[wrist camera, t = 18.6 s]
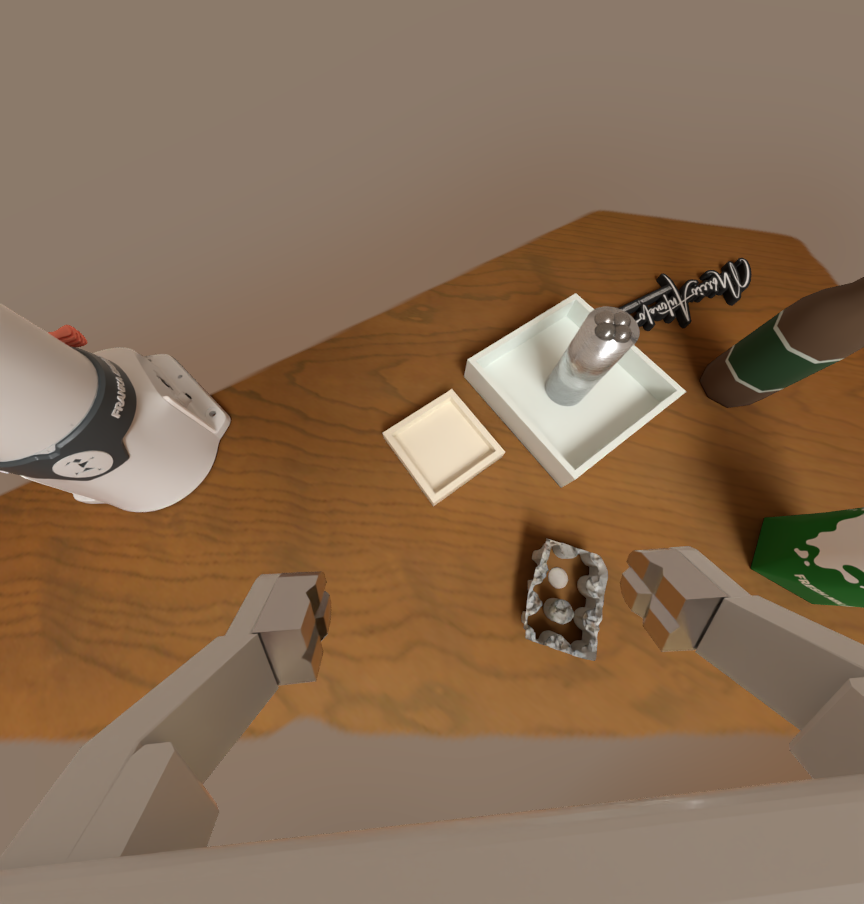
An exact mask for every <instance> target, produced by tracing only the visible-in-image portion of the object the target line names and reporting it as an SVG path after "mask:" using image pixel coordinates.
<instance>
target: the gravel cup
mask: <svg viewBox="0 0 864 904" xmlns="http://www.w3.org/2000/svg"><path fill="white" fill-rule="evenodd" d="M638 337H639V327H638V324H637V322H636V321H635V320H634V318H633V317H632V316H631V315H629V314H628V313H627V312H625V311H623V310H621V309H618V308H615V307H600V308H597V309H594V310H593V311H591V312H590V313H589V315H588V316H587V318H586V319H585V321H584V322H583V324H582V325H581V327H580V329H579V330H578V332H577V333H576V335H575V336H574V338H573V339H572V341H571V343H570V344H569V346H568V347H567V349H566V350H565V352H564V353H563V355H562V356H561V358H560V360H559V361H558V363H557V364H556V366H555V367H554V369H553V370H552V372H551V374H550V375H549V377H548V378H547V380H546V382H545V391H546V394H547V395H548V397H549V398H550V399H551V400H552V401H553V402H555V403H556V404H559V405H562V406H573V405H576V404H578V403H579V402H580V401H581V400H582V399H583V398H584V397H585V396H586V395H587V394H588V393H589V392H590V391H591V390H592V389H593V388H594V386H595V385H596V384H597V383H598V382H599V381H600V380H601V379H602V378H603V377H604V376H605V375H606V374H607V373H608V372H609V370H610V369H611V368H612V367H613V366H614V365H615V364H616V363H617V362H618V361H619V360H620V359H621V358H622V357H623V355H624V354H625V353H626V352H627V351H628V350H629V349H630V348H631V347H632V346H633V345H634V344H635V343H636V341H637V340H638Z"/></svg>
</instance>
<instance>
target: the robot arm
mask: <svg viewBox="0 0 864 904" xmlns="http://www.w3.org/2000/svg"><path fill="white" fill-rule="evenodd" d="M86 344H87V340H86V339H85V337H84V336H83V335H82V334H81V333H80V332H79V331H77V330H76V329H75V328H74V327H72V326H70V325H64V326H62V327H61V328H59V329H58V330H56V331H54V332H48V333H47V332H46V331H44V330H43V329H41V328H39V327H38V326H36V325H35V324H33V323H31V322H30V321H28V320H27V319H25V318H23V317H22V316H20V315H19V314H17V313H15V312H14V311H12V310H10V309H9V308H7V307H6V306H4V305H2V304H1V303H0V472H4V473H7V474H8V473H13V474H17V475H20V476H22V477H24V478H26V479H29V480H32V481H35V482H38V483H41V484H45V485H48V486H51V487H54V488H57V489H60V490H64V491H67V492H70V493H73V496H74V498H75V499H76V500H78V501H81V502H84V503H90V504H97V503H108V504H111V505H113V506H116V507H118V508H120V509H123V510H127V511H132V512H149V511H154V510H159V509H162V508H165V507H168V506H170V505H172V504H174V503H176V502H178V501H180V500H181V499H183V498H184V497H186V496H187V495H188V494H190V493H191V492H192V491H193V490H194V489H195V488H196V487H197V486H198V485H199V484H200V483H201V482H202V481H203V480H204V478H205V477H206V476H207V474H208V473H209V471H210V469H211V467H212V465H213V463H214V460H215V457H216V453H217V449H218V444H219V441H220V439H221V437H222V436H223V434H224V433H225V431H226V430H227V428H228V426H229V424H230V421H231V419H230V416H229V415H228V414H227V413H226V412H225V411H224V410H223V409H222V408H221V407H220V405H219V404H218V403H217V402H216V401H215V400H214V399H213V398H212V397H211V396H210V395H209V394H208V393H207V392H206V391H205V390H204V389H203V388H202V387H201V385H200V384H199V383H198V382H197V381H196V380H195V379H194V378H193V377H192V376H191V375H190V374H189V373H188V372H187V371H186V370H185V369H184V368H183V366H181V364H180V363H179V362H178V361H177V360H176V359H174V358H173V357H172V356H170V355H168V354H156V355H149V356H145V357H143V356H142V355H140V354H139V353H138V352H136V351H134V350H132V349H129V348H111V349H106V350H102V351H98V352H95V353H89V352H87V351H84V350H82V349H79V348H76V347H81V346H84V345H86ZM215 413H216V414H215ZM214 414H215V416H213V415H214ZM212 416H213V417H212ZM626 562H627V563H628V565H629V567H630V568H628V569H627V570H626V571H625V572H624V573H623V574H622V577H621V581H620V587H621V593H622V596H623V598H624V600H625V602H626V604H627V605H628V606H629V608H630V609H631V611H633V612H634V613H636V614H638V615H639V616H641V617H642V618H643V627H644V629H645V630H646V631H647V633H648V634H649V635H650V637H651V638H652V639H653V641H654V642H655V643H656V645H657V646H658V648H659V649H660V650H661V652H665V651H684V650H696V651H695V652H696V653H698V654H699V655H700V656H702V657H703V658H704V659H706V660H707V661H708V662H710V663H711V664H712V665H714V666H715V667H716V668H718V669H719V670H720V671H722V672H723V673H724V674H726V675H727V676H728V677H730V678H731V679H732V680H734V681H735V682H736V683H738V684H739V685H740V686H742V687H743V688H745V689H746V690H747V691H749V692H750V693H751V694H753V695H754V696H755V697H757V698H758V699H759V700H761V701H762V702H763V703H765V704H766V705H767V706H769V707H770V708H771V709H773V710H774V711H775V712H777V713H778V714H779V715H781V716H782V717H783V718H785V719H786V720H787V721H789V722H790V723H791V724H793V725H794V726H795V727H797V728H798V729H799V730H801V731H800V732H799V733H798V734H797V735H796V736H795V737H794V738H793V740H792V741H791V742H790V751H791V753H792V754H793V755H794V756H795V758H796V759H797V760H798V761H799V762H800V763H801V765H802V766H803V767H804V768H805V769H806V770H807V772H808V773H809V774H810V775H811V777H812V778H813V779H809V780H801V781H792V782H782V783H774V784H764V785H757V786H748V787H738V788H729V789H721V790H711V791H702V792H693V793H685V794H675V795H667V796H658V797H649V798H640V799H631V800H622V801H613V802H604V803H595V804H586V805H577V806H568V807H560V808H551V809H542V810H534V811H524V812H515V813H506V814H497V815H488V816H479V817H471V818H462V819H453V820H444V821H435V822H426V823H417V824H408V825H399V826H390V827H381V828H373V829H364V830H355V831H346V832H337V833H328V834H319V835H310V836H301V837H292V838H283V839H274V840H266V841H257V842H248V843H239V844H230V845H221V846H212V847H207V845H208V842H209V839H210V837H211V834H212V831H213V828H214V826H215V822H216V820H217V817H218V814H219V809H218V806H217V803H216V802H215V800H214V799H213V798H212V797H211V795H210V794H209V792H208V791H207V790H206V788H205V787H204V786H203V784H204V782H205V781H206V780H207V779H208V777H209V776H210V775H211V773H212V772H213V771H214V770H215V768H216V767H217V766H218V765H219V763H220V762H221V761H222V759H223V758H224V757H225V756H226V754H227V753H228V752H229V750H230V749H231V748H232V747H233V745H234V744H235V743H236V742H237V740H238V739H239V738H240V736H241V735H242V734H243V733H244V731H245V730H246V729H247V728H248V726H249V725H250V724H251V722H252V721H253V720H254V719H255V717H256V716H257V715H258V714H259V712H260V711H261V710H262V708H263V707H264V706H265V705H266V703H267V702H268V701H269V700H270V698H271V697H272V696H273V694H274V693H275V692H276V691H277V689H278V686H279V685H287V684H296V683H305V682H313V681H316V680H317V676H318V672H319V668H320V664H321V660H322V656H323V648H322V644H321V641H322V640H323V639H324V638H325V636H326V635H327V634H328V631H329V626H330V620H331V600H330V595H329V594H328V593H327V592H326V591H324V590H325V586H326V583H327V581H326V578H325V574H324V572H297V573H282V574H262V575H260V576H259V577H258V578H257V579H256V580H255V582H254V584H253V586H252V587H251V589H250V591H249V593H248V595H247V596H246V598H245V600H244V602H243V604H242V606H241V607H240V609H239V611H238V613H237V615H236V616H235V618H234V620H233V622H232V624H231V625H230V627H229V629H228V631H227V633H226V635H225V636H220V637H217V638H216V639H214V640H213V641H212V642H211V643H209V644H208V645H207V646H206V647H204V648H203V649H202V650H201V651H199V652H198V653H197V654H196V655H195V656H193V657H192V658H191V659H190V660H188V661H187V662H186V663H185V664H183V665H182V666H181V667H180V668H178V669H177V670H176V671H175V672H174V673H172V674H171V675H170V676H169V677H167V678H166V679H165V680H164V681H162V682H161V683H160V684H159V685H157V686H156V687H155V688H154V689H152V690H151V691H150V692H149V693H148V694H146V695H145V696H144V697H143V698H141V699H140V700H139V701H138V702H136V703H135V704H134V705H133V706H131V707H130V708H129V709H128V710H126V711H125V712H124V713H123V714H122V715H120V716H119V717H118V718H117V719H115V720H114V721H113V722H112V723H110V724H109V725H108V726H107V727H105V728H104V729H103V730H102V731H100V732H99V733H98V734H97V735H96V736H94V737H93V738H92V739H91V740H89V741H88V742H87V743H86V744H84V745H83V746H82V747H81V748H80V749H79V751H78V752H77V753H76V755H75V756H74V758H73V759H72V760H71V761H70V763H69V764H68V765H67V767H66V768H65V770H64V771H63V772H62V774H61V775H60V776H59V778H58V779H57V780H56V782H55V783H54V785H53V786H52V787H51V789H50V790H49V791H48V793H47V794H46V796H45V797H44V798H43V799H42V801H41V802H40V804H39V805H38V806H37V808H36V809H35V810H34V812H33V813H32V814H31V816H30V817H29V818H28V820H27V821H26V823H25V824H24V825H23V827H22V828H21V829H20V831H19V832H18V833H17V835H16V836H15V837H14V839H13V840H12V841H11V843H10V844H9V846H8V847H7V848H6V850H5V851H4V853H3V854H2V855H1V856H0V904H864V645H863V644H860V643H858V642H856V641H854V640H852V639H850V638H847V637H845V636H843V635H841V634H839V633H837V632H835V631H832V630H830V629H828V628H826V627H824V626H822V625H820V624H817V623H815V622H813V621H811V620H809V619H807V618H805V617H802V616H800V615H798V614H796V613H794V612H792V611H790V610H787V609H785V608H783V607H781V606H779V605H777V604H775V603H772V602H770V601H768V600H766V599H764V598H762V597H760V596H751V595H750V594H749V593H747V592H746V591H745V590H744V589H743V588H742V587H740V586H739V585H738V584H737V583H736V582H734V581H733V580H732V579H731V578H730V577H729V576H727V575H726V574H725V573H724V572H723V571H721V570H720V569H719V568H718V567H717V566H716V565H714V564H713V563H712V562H711V561H710V560H708V559H707V558H706V557H705V556H704V555H703V554H701V553H700V552H699V551H698V550H696V549H694V548H692V547H690V546H685V547H672V548H659V549H646V550H633V551H632V552H631V553H630V554H629V556H628V559H627V561H626Z"/></svg>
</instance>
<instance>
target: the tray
mask: <svg viewBox="0 0 864 904" xmlns="http://www.w3.org/2000/svg"><path fill="white" fill-rule="evenodd" d="M383 436H384V439H385V440H386V442H387V443H388V445H389V446H390V447H391V449H392V450H393V451H394V453H395V454H396V456H397V457H398V458H399V460H400V461H401V463H402V464H403V465H404V467H405V468H406V469H407V471H408V472H409V474H410V475H411V476H412V478H413V479H414V480H415V482H416V483H417V485H418V486H419V487H420V489H421V490H422V492H423V493H424V494H425V496H426V497H427V498H428V500H429V501H430V503H431V504H432V505H433V506H435V505H436V504H437V503H439V502H440V501H442V500H443V499H444V498H446V497H447V496H448V495H450V494H451V493H453V492H454V491H455V490H457V489H458V488H460V487H461V486H462V485H464V484H465V483H467V482H468V481H469V480H471V479H472V478H474V477H475V476H476V475H478V474H479V473H480V472H482V471H483V470H485V469H486V468H487V467H489V466H490V465H492V464H493V463H494V462H496V461H497V460H499V459H500V458H501V457H502V456H503V455H504V453H505V451H504V450H503V449H502V448H501V446H500V445H499V444H498V443H497V442H496V440H495V439H494V438H493V437H492V436H491V435H490V433H489V432H488V431H487V430H486V429H485V427H484V426H483V425H482V424H481V423H480V422H479V420H478V419H477V418H476V417H475V416H474V414H473V413H472V412H471V411H470V410H469V409H468V407H467V406H466V405H465V404H464V403H463V401H462V400H461V399H460V398H459V397H458V396H457V394H456V393H455V392H454V391H453V390H452V389H451V390H450V391H448V392H446V393H445V394H443V395H442V396H440V397H438V398H437V399H435V400H434V401H432V402H431V403H429V404H427V405H426V406H424V407H423V408H421V409H419V410H418V411H416V412H415V413H413V414H411V415H410V416H408V417H407V418H405V419H404V420H402V421H400V422H399V423H397V424H396V425H394V426H392V427H391V428H389V429H388V430H386V431H384V432H383Z"/></svg>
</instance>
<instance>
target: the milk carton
mask: <svg viewBox="0 0 864 904" xmlns="http://www.w3.org/2000/svg"><path fill="white" fill-rule="evenodd" d="M751 569H752V570H754V571H756V572H757V573H759V574H761V575H763V576H764V577H766V578H768V579H770V580H771V581H773V582H775V583H777V584H778V585H780V586H782V587H784V588H785V589H787V590H789V591H791V592H792V593H794V594H796V595H798V596H799V597H801V598H803V599H805V600H806V601H808V602H810V603H811V604H821V605H836V606H852V607H864V507H863V508H855V509H848V510H841V511H833V512H826V513H815V514H803V515H791V516H779V517H766V518H764V521H763V524H762V528H761V532H760V536H759V539H758V543H757V547H756V551H755V554H754V558H753V562H752V566H751Z"/></svg>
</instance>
